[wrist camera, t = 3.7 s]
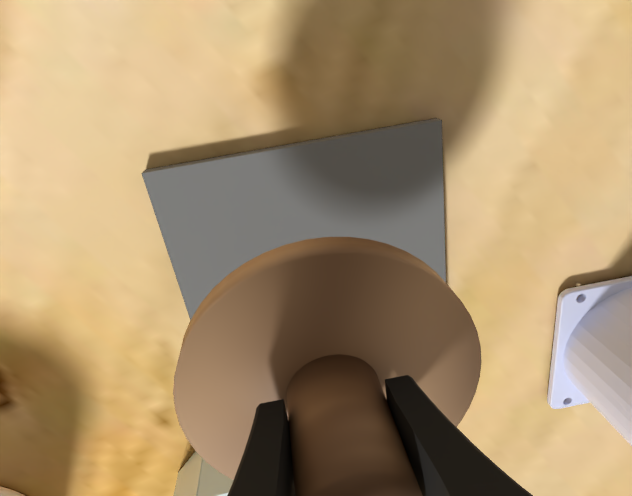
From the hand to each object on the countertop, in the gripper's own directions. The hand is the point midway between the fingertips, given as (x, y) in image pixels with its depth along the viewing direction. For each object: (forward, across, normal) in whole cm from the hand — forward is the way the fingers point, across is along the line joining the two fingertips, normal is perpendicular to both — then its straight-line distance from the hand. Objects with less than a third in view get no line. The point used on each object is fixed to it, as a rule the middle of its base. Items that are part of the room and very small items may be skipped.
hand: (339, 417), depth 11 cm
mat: (+9, 0, -1) cm, 9 cm away
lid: (+2, 0, 0) cm, 2 cm away
